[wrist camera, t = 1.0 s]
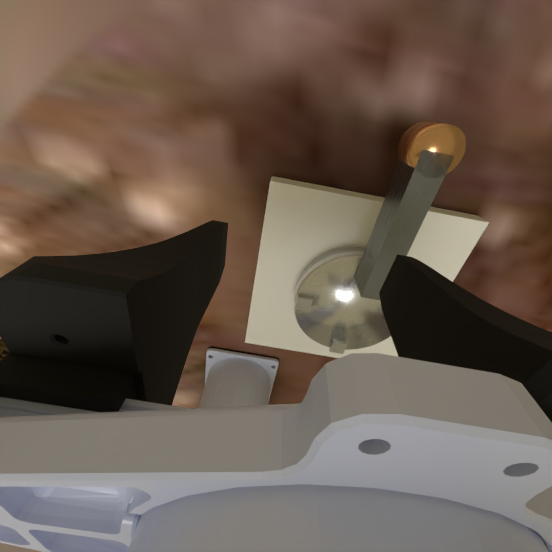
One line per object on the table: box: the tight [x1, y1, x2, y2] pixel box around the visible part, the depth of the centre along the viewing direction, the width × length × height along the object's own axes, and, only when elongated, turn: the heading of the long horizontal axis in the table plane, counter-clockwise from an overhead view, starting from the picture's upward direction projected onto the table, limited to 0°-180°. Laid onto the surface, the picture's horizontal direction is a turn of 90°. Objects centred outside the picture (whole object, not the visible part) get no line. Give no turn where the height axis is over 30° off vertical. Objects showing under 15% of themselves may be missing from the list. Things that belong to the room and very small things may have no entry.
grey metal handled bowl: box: [294, 121, 466, 354], centre depth 19 cm, size 18×9×5 cm, turn 171°
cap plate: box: [245, 176, 489, 358], centre depth 25 cm, size 16×16×2 cm
